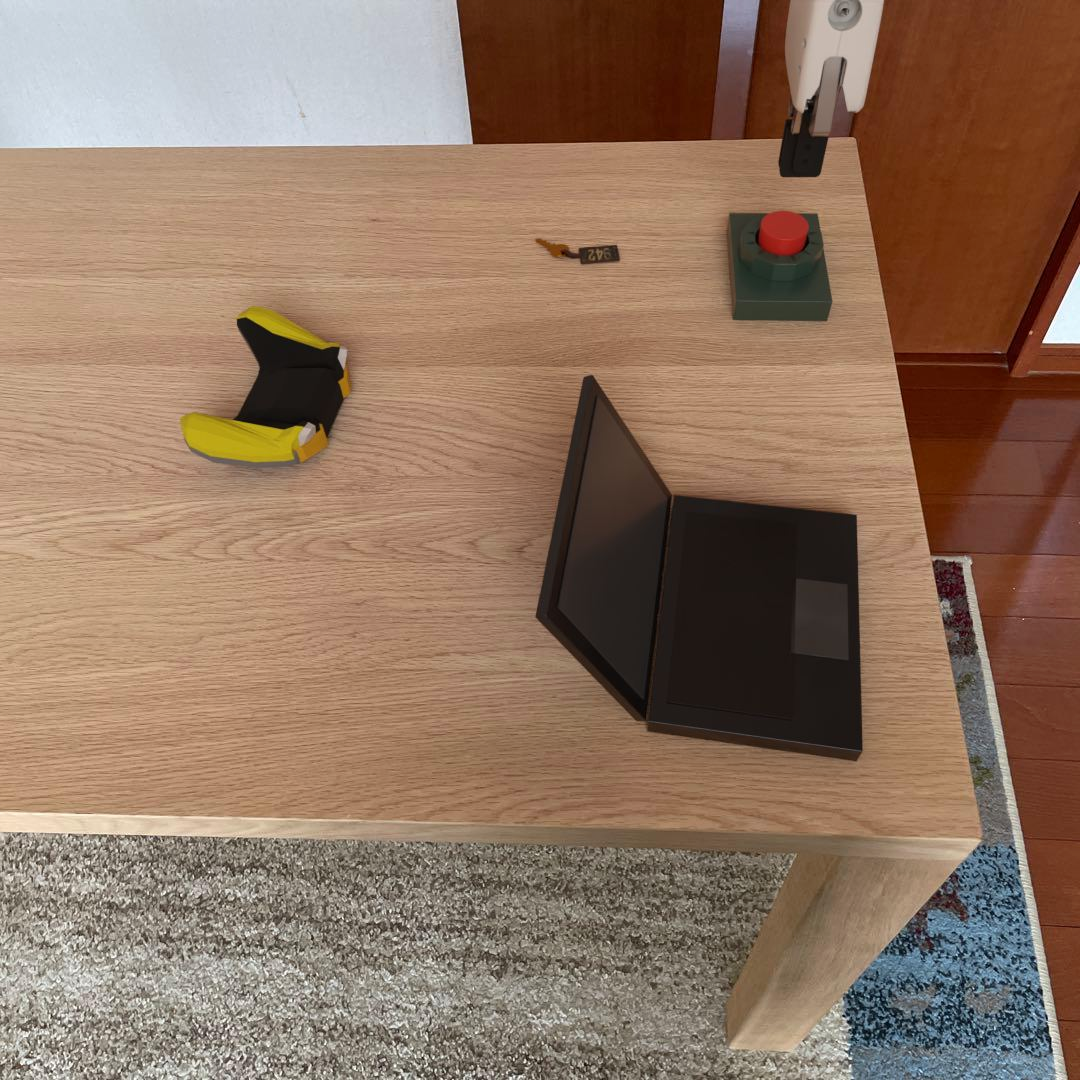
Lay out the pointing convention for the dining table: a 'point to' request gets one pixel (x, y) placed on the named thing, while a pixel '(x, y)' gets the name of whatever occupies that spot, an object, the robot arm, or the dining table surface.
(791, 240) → the power button
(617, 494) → the screen
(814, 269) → the green base block
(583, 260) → the key tag
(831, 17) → the robot arm
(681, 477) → the dining table surface
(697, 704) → the laptop
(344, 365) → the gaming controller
